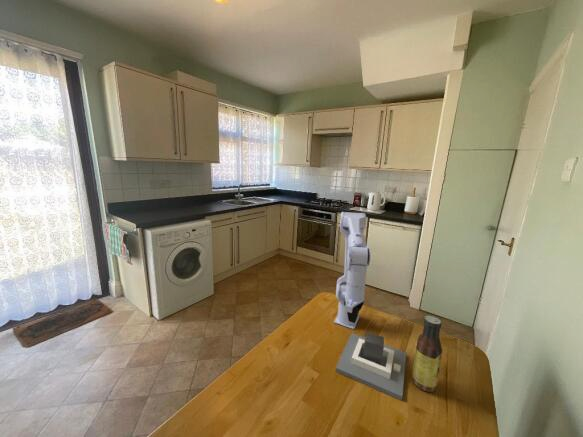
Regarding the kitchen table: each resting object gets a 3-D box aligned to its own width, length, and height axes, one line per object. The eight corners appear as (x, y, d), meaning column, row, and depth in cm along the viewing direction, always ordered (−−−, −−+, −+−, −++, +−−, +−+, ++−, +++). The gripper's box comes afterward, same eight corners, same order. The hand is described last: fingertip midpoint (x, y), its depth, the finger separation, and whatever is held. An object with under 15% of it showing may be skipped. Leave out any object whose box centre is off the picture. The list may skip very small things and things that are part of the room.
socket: (351, 336, 86) (352, 328, 85) (405, 355, 77) (407, 346, 77) (335, 371, 70) (336, 361, 69) (401, 400, 62) (403, 390, 61)
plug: (363, 351, 77) (365, 332, 75) (381, 357, 75) (383, 337, 73) (362, 361, 72) (364, 341, 71) (381, 367, 71) (383, 346, 69)
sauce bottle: (440, 395, 63) (452, 330, 60) (415, 390, 65) (425, 326, 61) (431, 375, 70) (441, 315, 66) (408, 371, 71) (417, 311, 67)
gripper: (349, 272, 84) (346, 307, 86) (336, 289, 71) (333, 329, 74) (370, 277, 80) (366, 313, 83) (360, 295, 68) (356, 337, 70)
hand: (352, 321), depth 78 cm, fingers closed
